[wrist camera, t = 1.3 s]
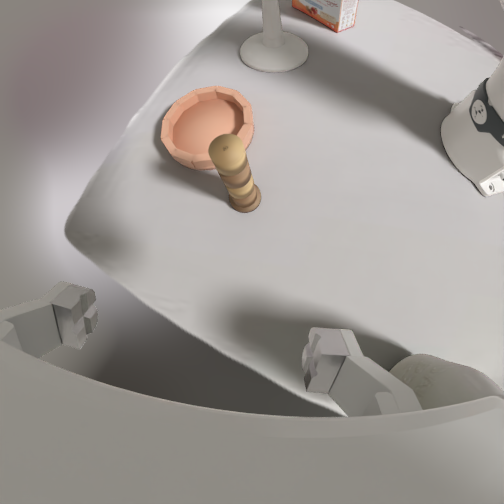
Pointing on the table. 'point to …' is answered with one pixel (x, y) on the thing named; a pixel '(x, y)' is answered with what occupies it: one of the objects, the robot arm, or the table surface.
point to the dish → (205, 124)
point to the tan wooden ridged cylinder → (235, 172)
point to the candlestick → (273, 44)
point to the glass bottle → (443, 381)
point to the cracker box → (330, 12)
